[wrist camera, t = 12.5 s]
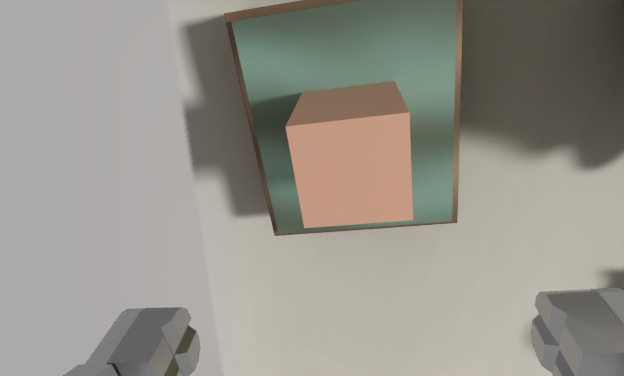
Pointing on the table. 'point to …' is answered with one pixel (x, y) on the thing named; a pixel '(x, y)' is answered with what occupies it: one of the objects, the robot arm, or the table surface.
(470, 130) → the table surface
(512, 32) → the table surface
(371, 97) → the terracotta block
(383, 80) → the green lidded wooden box
